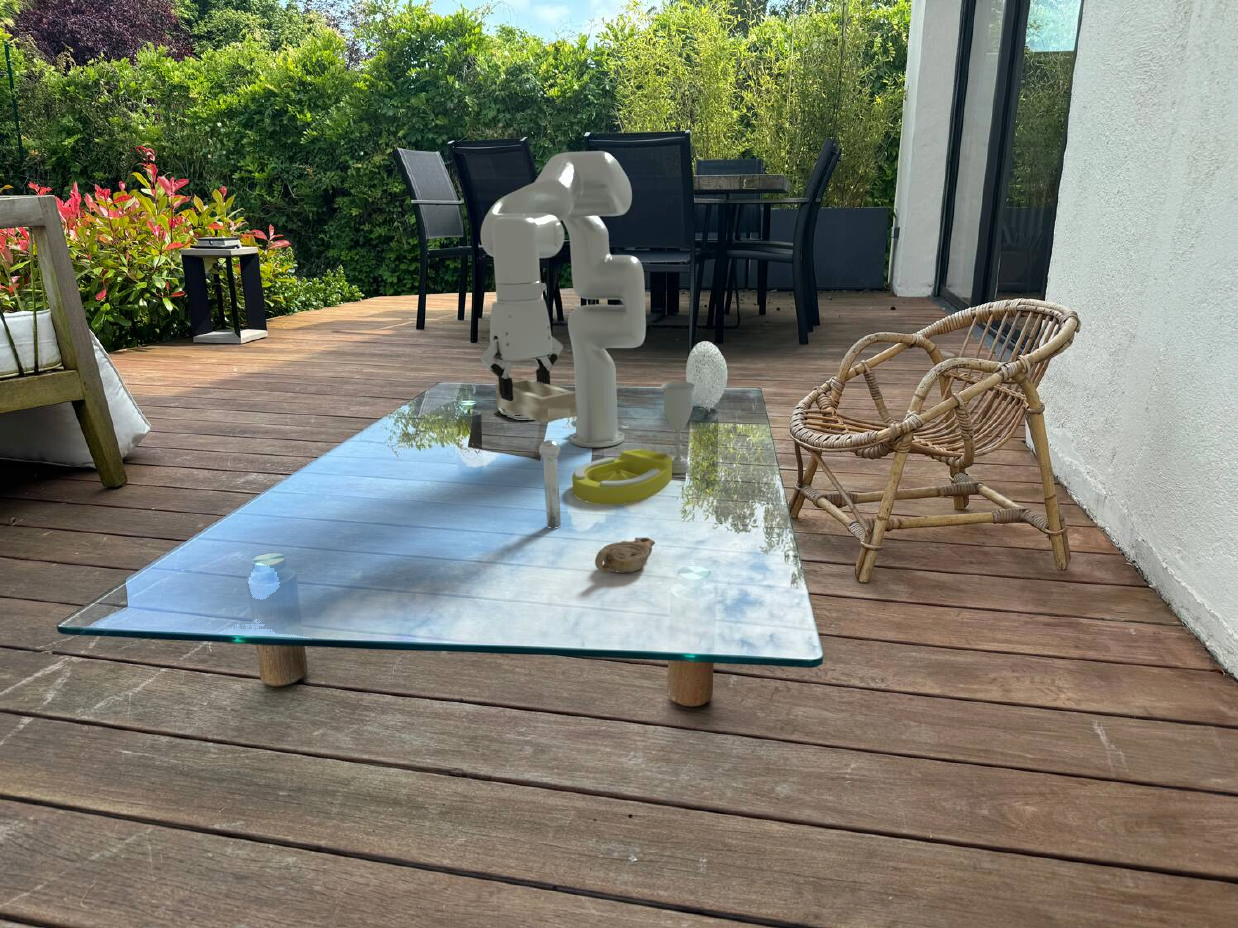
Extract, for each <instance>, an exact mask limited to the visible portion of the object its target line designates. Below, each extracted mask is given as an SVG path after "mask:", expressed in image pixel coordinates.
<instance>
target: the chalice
mask: <svg viewBox="0 0 1238 928" xmlns="http://www.w3.org/2000/svg"><path fill="white" fill-rule="evenodd" d="M660 386H661V388H662V390H663V410H664V413H665V416H666V419H667V421H668V422H669V426H670V427H671V429H673V430H675V433H676V434H675V438H674V440H675V446H674V449H675V451H676V453H675V456H674V457H672V474H686V473H689V472H691V471H692V470H691V467H690V464H689V463H688V460H687V458H685V457H683V456H682V454H681V452H682V449H683V447H684V446H682V440H683V437H682V434H681V433H682V430H683V429H685V428H686V426H687V424H688V422H689V420H690V418H691V415H692V411H693V398H692V393H693V389H694V386H695V385H694V384H693V383H690V382H687V381H669V382H665V383H663V384H661V385H660Z"/></svg>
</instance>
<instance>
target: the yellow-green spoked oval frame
mask: <svg viewBox="0 0 1238 928" xmlns="http://www.w3.org/2000/svg"><path fill="white" fill-rule="evenodd" d="M672 458H673V457H672V456H670V455H667V454H665V453H661V452H660V453H659V452H657V451H652V450H648V449H642V448H635V449H631V450H630V449H629V450H623V451H621V452H620V457H616V458H614V457H605V458H601V459H597V460H593V461H589V462H586V463H584V464H581V465H580V466H578V467H577V468H576V469H575V470H574V472H573V474H572V493H573V495H574V496H575V498H577V499H578V500H581V501H583V502H586V501H588V502H587V503H590V502H591V504H595V505H596V504H597V505H607V506H608V505H611V506H614V505H615V506H617V505H625V504H626V505H627V504H633V503H638V502H641V501H644V500H647V499H649V498H651V497H653V496H655V495H657V493H659V492H661V491H662V490H663V489H665V488H666V487H667V486H668V485H669V483H670V482H671V481H672V480H673V473H672Z"/></svg>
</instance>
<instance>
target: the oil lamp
mask: <svg viewBox="0 0 1238 928" xmlns="http://www.w3.org/2000/svg"><path fill="white" fill-rule="evenodd" d="M655 544H656V541H655V540H653V539H651V538H649V537H635V538H634V540H632V541H631V540H630V541H629V540H628V541H627V540H622V541H621V542H614V543H610V544H607V545H605V546H604V547H602V548H601V549H600V550H599V551H598V553H597V554H596V556H595V560H594V563H595V567H596V569H598V570H599V571H601V572H607V571H609V570H610V571H611V570H613V571H618V572H629V573H632V572H631V571H633V572H636V570H637V571H639V570H640V569H642V568H643V567H644V566H645V565H646V564H647V561H648V558H649V557H650V556H651V554H652V551H653V546H654V545H655ZM638 569H639V570H638ZM613 571H612V572H613Z"/></svg>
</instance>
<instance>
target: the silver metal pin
mask: <svg viewBox="0 0 1238 928" xmlns="http://www.w3.org/2000/svg"><path fill="white" fill-rule="evenodd" d="M538 451H539V455H540V457H541V459H543V460H542V461H543V474H544V475H543V476H544V477H543V478H544V492H545V507H546V508H545V510H546V512H545V513H546V527H547V526H548V527H551V528H555V527H559V526H560V525H561V526H562V523H561V503H560V502H561V501H560V487H559V486H560V483H559V467H558V466H559V465H558V458H559V456H560V455H561V447H560V445H559V443H558V442H556V441H555V440H553V439H547V440H544V441H543V442H542V443H541V444H540V445H539V449H538ZM548 527H547V528H548ZM559 528H560V527H559Z"/></svg>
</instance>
